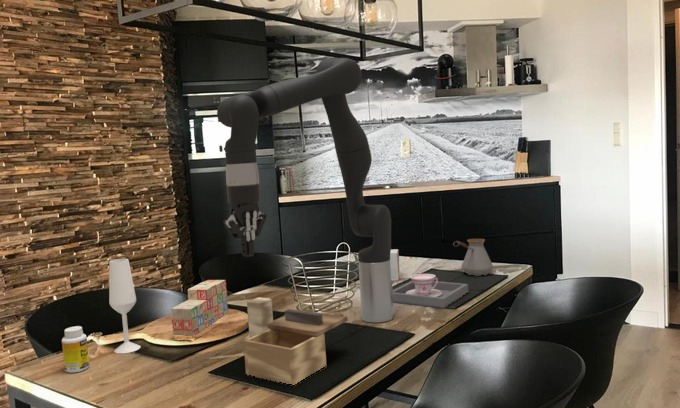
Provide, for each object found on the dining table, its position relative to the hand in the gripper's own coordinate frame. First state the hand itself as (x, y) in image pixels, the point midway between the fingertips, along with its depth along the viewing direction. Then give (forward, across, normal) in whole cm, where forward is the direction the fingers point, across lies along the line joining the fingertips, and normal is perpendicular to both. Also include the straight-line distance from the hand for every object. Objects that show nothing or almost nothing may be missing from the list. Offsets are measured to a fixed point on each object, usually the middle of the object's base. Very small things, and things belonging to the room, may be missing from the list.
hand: (248, 256), depth 137 cm
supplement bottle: (+26, -22, +38) cm, 52 cm away
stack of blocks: (+26, +14, +33) cm, 44 cm away
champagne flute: (+26, -7, +39) cm, 48 cm away
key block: (+26, +10, +7) cm, 29 cm away
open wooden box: (+26, -1, -10) cm, 28 cm away
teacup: (+26, +69, -12) cm, 74 cm away
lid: (+18, +9, -10) cm, 22 cm away
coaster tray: (+26, +68, -14) cm, 74 cm away
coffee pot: (+26, +100, -16) cm, 105 cm away
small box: (+26, +87, +10) cm, 92 cm away
